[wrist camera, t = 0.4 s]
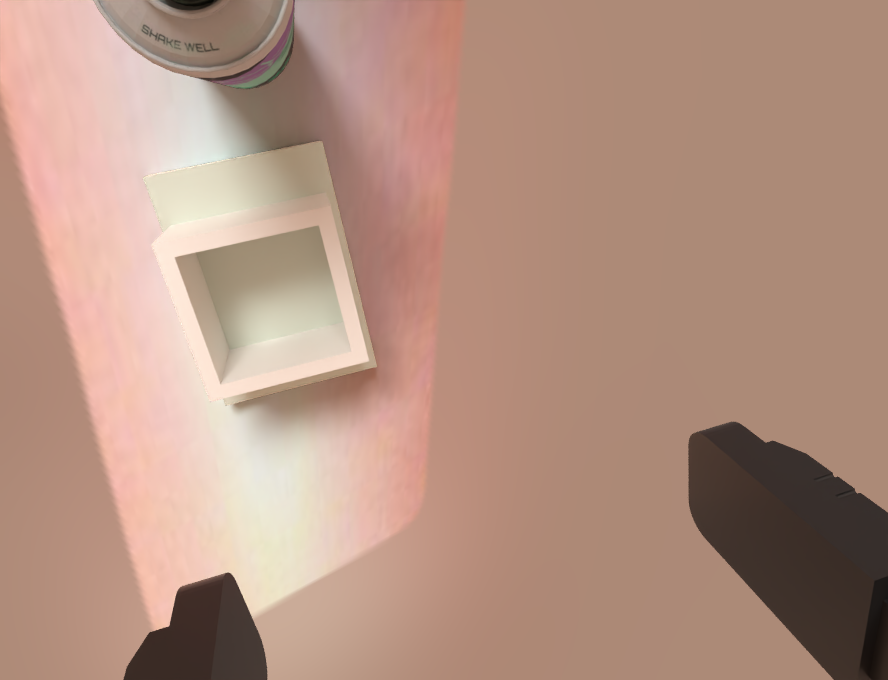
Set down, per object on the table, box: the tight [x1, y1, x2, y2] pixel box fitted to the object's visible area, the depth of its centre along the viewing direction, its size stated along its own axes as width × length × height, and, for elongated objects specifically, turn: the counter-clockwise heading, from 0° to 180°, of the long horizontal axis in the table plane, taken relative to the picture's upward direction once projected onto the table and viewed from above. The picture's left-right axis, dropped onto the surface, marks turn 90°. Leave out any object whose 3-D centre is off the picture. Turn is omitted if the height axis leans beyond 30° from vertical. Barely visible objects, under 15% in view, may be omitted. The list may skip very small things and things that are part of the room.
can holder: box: [143, 140, 377, 406], centre depth 34 cm, size 14×10×6 cm
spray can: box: [93, 0, 295, 89], centre depth 23 cm, size 6×6×20 cm
